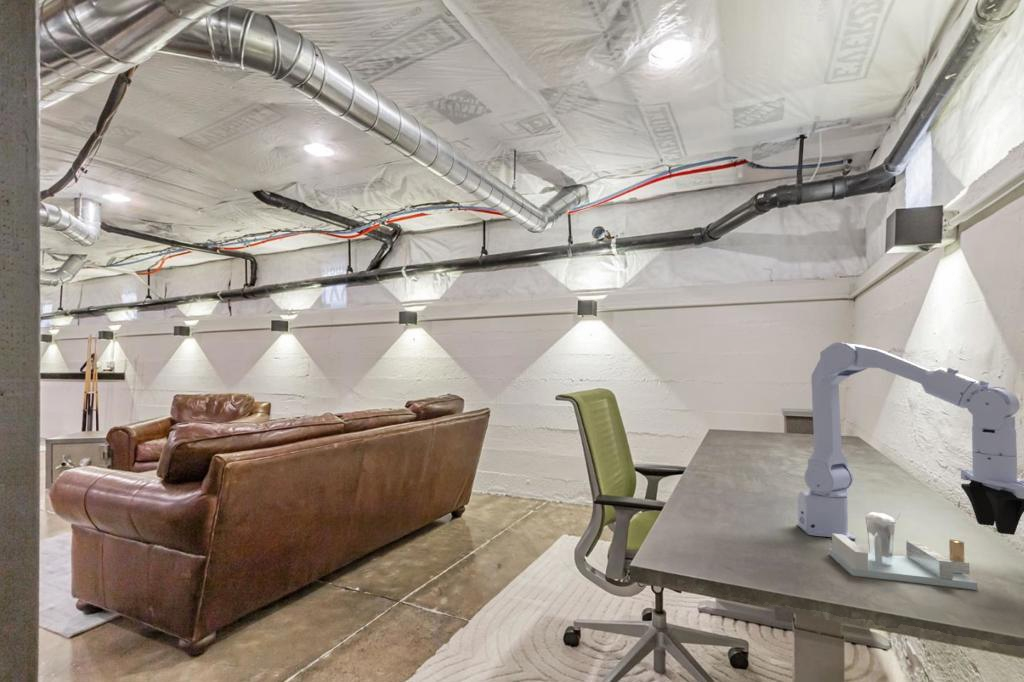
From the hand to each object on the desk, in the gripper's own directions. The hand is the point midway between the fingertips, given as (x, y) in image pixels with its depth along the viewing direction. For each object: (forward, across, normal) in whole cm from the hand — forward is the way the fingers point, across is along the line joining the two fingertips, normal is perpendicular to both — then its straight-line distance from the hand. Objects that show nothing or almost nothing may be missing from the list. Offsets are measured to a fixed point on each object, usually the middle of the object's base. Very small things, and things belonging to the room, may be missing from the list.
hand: (995, 529), depth 86 cm
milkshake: (+8, 0, +18) cm, 20 cm away
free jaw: (+8, 0, +8) cm, 12 cm away
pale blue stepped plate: (+9, 0, +16) cm, 18 cm away
